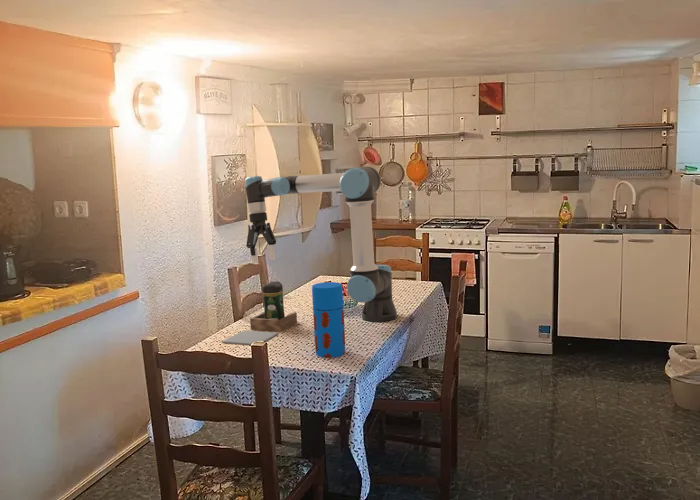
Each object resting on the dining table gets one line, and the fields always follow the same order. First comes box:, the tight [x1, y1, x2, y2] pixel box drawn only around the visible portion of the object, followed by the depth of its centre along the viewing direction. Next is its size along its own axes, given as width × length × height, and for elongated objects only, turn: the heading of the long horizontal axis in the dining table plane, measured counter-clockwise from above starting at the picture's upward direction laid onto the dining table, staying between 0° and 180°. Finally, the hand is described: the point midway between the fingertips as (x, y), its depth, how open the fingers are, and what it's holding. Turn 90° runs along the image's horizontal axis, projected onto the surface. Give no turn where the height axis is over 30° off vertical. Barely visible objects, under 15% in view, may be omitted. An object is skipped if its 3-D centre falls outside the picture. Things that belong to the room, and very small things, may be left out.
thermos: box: [311, 281, 346, 359], centre depth 240 cm, size 11×11×25 cm
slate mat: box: [221, 330, 279, 346], centre depth 265 cm, size 16×16×1 cm
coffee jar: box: [261, 281, 286, 320], centre depth 282 cm, size 10×8×19 cm
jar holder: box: [249, 311, 298, 332], centre depth 283 cm, size 14×14×4 cm
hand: (264, 261), depth 291 cm, fingers open, 13 cm apart
